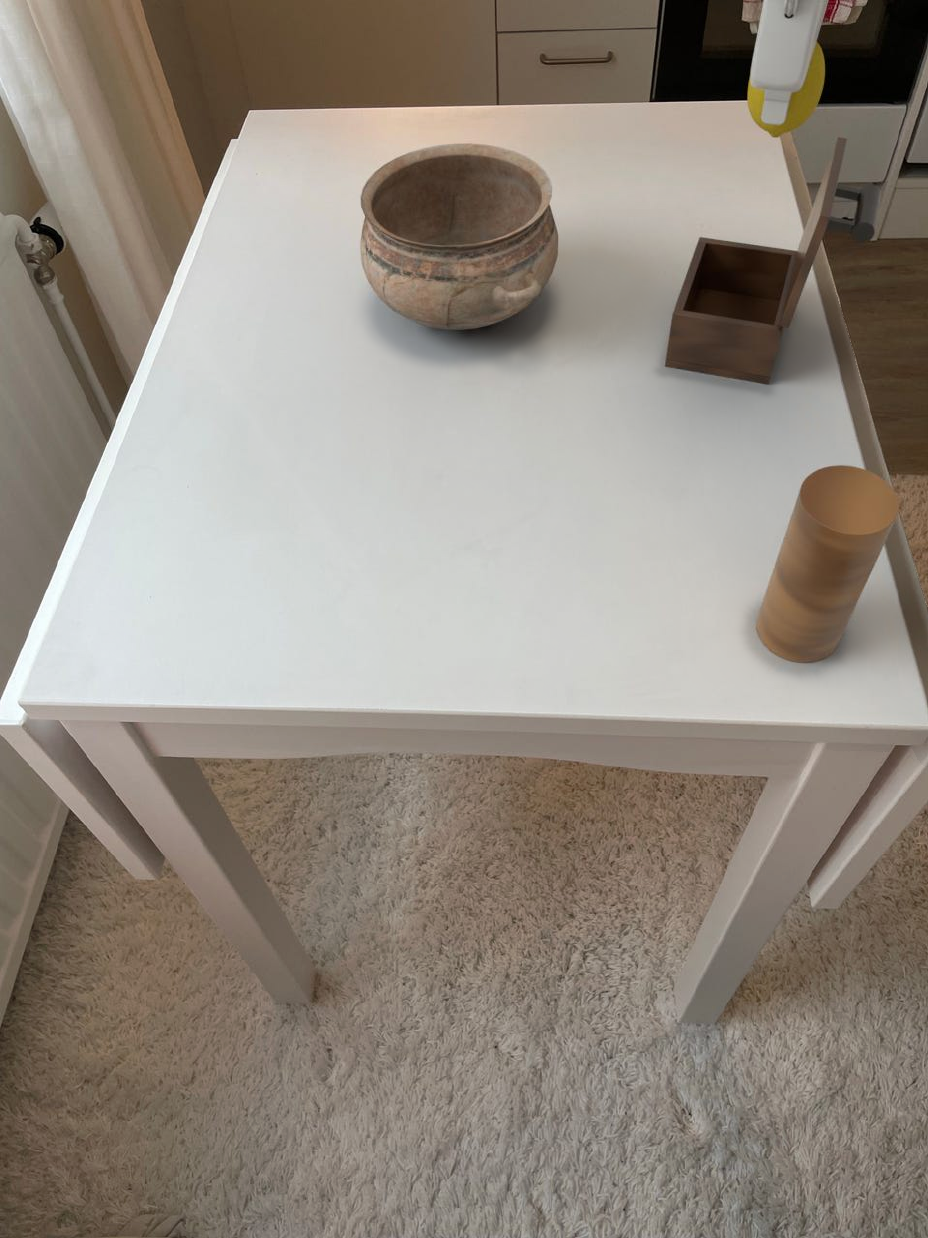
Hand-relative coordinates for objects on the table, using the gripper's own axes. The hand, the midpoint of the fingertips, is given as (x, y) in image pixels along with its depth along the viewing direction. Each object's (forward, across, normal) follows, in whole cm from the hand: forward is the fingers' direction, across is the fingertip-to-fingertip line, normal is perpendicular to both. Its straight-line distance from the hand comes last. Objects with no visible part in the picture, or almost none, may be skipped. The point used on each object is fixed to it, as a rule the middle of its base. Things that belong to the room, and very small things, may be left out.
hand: (780, 98), depth 74 cm
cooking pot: (+22, -2, +27) cm, 35 cm away
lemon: (+3, 0, 0) cm, 3 cm away
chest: (+22, 0, 0) cm, 22 cm away
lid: (+11, 0, -4) cm, 12 cm away
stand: (+22, -33, -11) cm, 41 cm away
